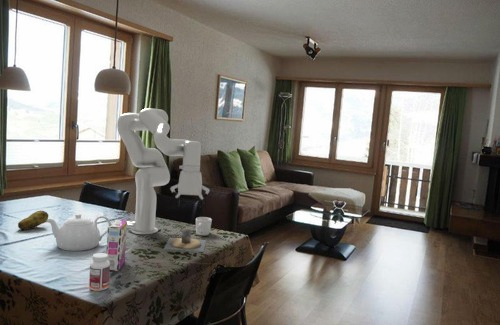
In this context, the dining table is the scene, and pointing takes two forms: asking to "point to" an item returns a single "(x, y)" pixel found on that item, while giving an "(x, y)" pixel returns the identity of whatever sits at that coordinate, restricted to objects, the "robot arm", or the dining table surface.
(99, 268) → the pill bottle
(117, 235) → the candy bar box
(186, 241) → the lid
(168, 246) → the mat
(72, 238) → the teapot
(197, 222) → the cup
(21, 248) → the dining table surface
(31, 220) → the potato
